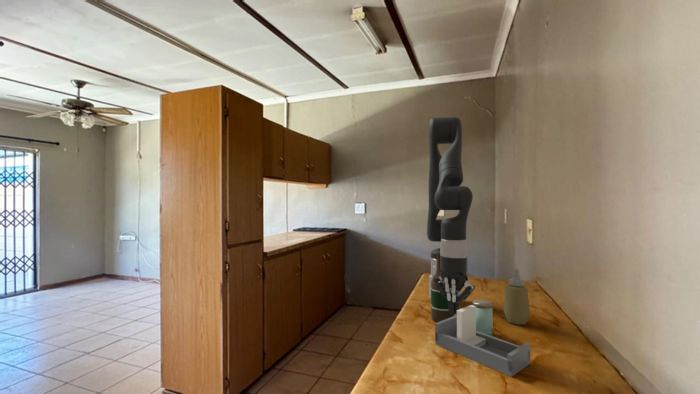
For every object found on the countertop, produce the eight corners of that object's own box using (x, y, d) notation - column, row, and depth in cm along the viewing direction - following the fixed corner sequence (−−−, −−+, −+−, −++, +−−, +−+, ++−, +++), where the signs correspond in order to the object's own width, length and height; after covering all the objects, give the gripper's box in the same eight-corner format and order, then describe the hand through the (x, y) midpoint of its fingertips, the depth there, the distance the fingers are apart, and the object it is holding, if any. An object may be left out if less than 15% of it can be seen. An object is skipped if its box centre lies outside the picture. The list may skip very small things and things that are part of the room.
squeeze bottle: (533, 327, 106) (533, 272, 106) (507, 325, 108) (506, 271, 107) (525, 318, 114) (525, 266, 114) (500, 316, 115) (500, 266, 115)
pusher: (456, 346, 91) (456, 310, 91) (471, 339, 95) (471, 304, 95) (471, 352, 87) (471, 315, 87) (485, 344, 91) (485, 309, 91)
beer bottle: (455, 317, 115) (455, 249, 115) (452, 325, 108) (451, 253, 108) (432, 314, 118) (432, 248, 118) (428, 322, 111) (428, 251, 111)
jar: (469, 333, 102) (468, 301, 102) (479, 328, 105) (479, 297, 105) (486, 339, 97) (486, 306, 97) (496, 334, 101) (496, 302, 101)
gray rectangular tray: (435, 344, 95) (435, 323, 95) (455, 334, 101) (455, 315, 101) (511, 376, 77) (511, 351, 77) (530, 363, 83) (530, 340, 83)
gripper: (427, 252, 98) (427, 310, 98) (466, 259, 88) (466, 323, 88) (442, 250, 103) (442, 305, 103) (481, 256, 92) (481, 317, 92)
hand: (453, 313), depth 95 cm, fingers closed
